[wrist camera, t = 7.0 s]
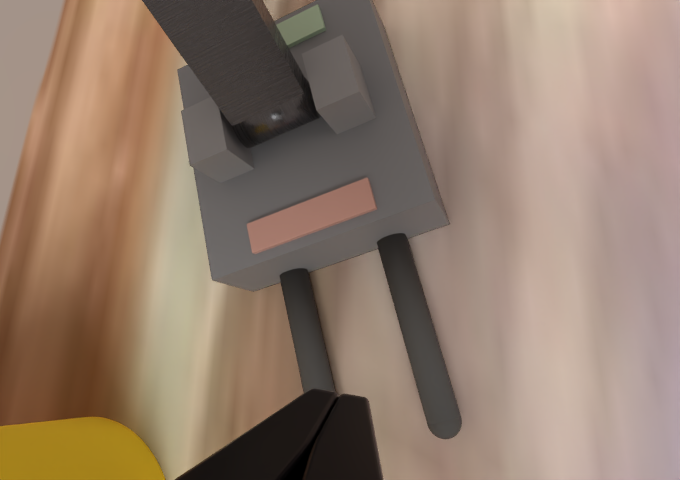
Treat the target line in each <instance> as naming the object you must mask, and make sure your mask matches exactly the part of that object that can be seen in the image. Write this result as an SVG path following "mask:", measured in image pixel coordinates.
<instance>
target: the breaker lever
mask: <svg viewBox="0 0 680 480" xmlns="http://www.w3.org/2000/svg"><path fill="white" fill-rule="evenodd" d="M142 1H143V2H144V4H145V5H146V6H147V8H148V9H149V11H150V12H151V13H152V15H153V16H154V18H155V19H156V20H157V22H158V23H159V25H160V26H161V27H162V29H163V30H164V32H165V33H166V34H167V36H168V37H169V39H170V40H171V41H172V43H173V44H174V46H175V47H176V49H177V50H178V51H179V53H180V54H181V56H182V57H183V58H184V60H185V61H186V63H187V64H188V65H189V67H190V68H191V70H192V71H193V72H194V74H195V75H196V77H197V78H198V79H199V81H200V82H201V84H202V85H203V86H204V88H205V89H206V91H207V92H208V93H209V95H210V96H211V98H212V99H213V100H214V102H215V103H216V105H217V106H218V107H219V109H220V110H221V112H222V113H223V114H224V116H225V117H226V119H227V120H228V121H229V123H230V124H231V126H232V128H233V130H234V132H235V134H236V136H237V138H238V139H239V141H240V142H241V143H242V144H243V145H244V146H245V147H246V148H252V147H254V146H256V145H258V144H261V143H263V142H265V141H268V140H270V139H272V138H275V137H277V136H279V135H282V134H284V133H286V132H289V131H291V130H293V129H296V128H298V127H300V126H302V125H305V124H307V123H309V122H312V121H314V120H316V119H319V118H320V117H321V115H320V114H319V113H318V112H317V110H316V107H315V103H314V99H313V96H312V92H311V88H310V84H309V82H308V80H307V79H306V78H305V77H304V75H303V73H302V71H301V69H300V68H299V66H298V64H297V62H296V60H295V59H294V57H293V55H292V53H291V51H290V49H289V48H288V46H287V44H286V42H285V40H284V39H283V37H282V35H281V33H280V31H279V29H278V28H277V26H276V24H275V22H274V20H273V19H272V17H271V15H270V13H269V11H268V9H267V8H266V6H265V4H264V2H263V0H142Z"/></svg>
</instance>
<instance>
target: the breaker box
mask: <svg viewBox="0 0 680 480" xmlns="http://www.w3.org/2000/svg"><path fill="white" fill-rule="evenodd" d="M274 22H275V24H276V26H277V28H278V29H279V31H280V33H281V35H282V37H283V39H284V40H285V42H286V44H287V46H288V48H289V49H290V51H291V53H292V55H293V57H294V59H295V60H296V62H297V64H298V66H299V68H300V69H301V71H302V73H303V75H304V77H305V78H306V79H307V80H308V82H309V84H310V88H311V92H312V96H313V99H314V103H315V107H316V110H317V112H318V113H319V114H320V115H321V117H320V118H319V119H316V120H314V121H312V122H309V123H307V124H305V125H302V126H300V127H298V128H296V129H293V130H291V131H289V132H286V133H284V134H282V135H279V136H277V137H275V138H272V139H270V140H268V141H265V142H263V143H261V144H258V145H256V146H254V147H252V148H246V147H245V146H244V145H243V144H242V143H241V142H240V141H239V139H238V138H237V136H236V134H235V132H234V130H233V128H232V126H231V124H230V123H229V121H228V120H227V119H226V117H225V116H224V114H223V113H222V112H221V110H220V109H219V107H218V106H217V105H216V103H215V102H214V100H213V99H212V98H211V96H210V95H209V93H208V92H207V91H206V89H205V88H204V86H203V85H202V84H201V82H200V81H199V79H198V78H197V77H196V75H195V74H194V72H193V71H192V70H191V68H190V67H189V65H186V66H184V67H182V68H180V69H178V76H179V82H180V88H181V95H182V101H183V107H184V110H182V111H181V113H182V119H183V125H184V132H185V138H186V144H187V150H188V156H189V162H190V166H192V167H193V168H194V174H195V180H196V186H197V192H198V198H199V204H200V210H201V216H202V222H203V228H204V235H205V241H206V247H207V253H208V259H209V265H210V271H211V277H212V280H213V281H217V282H220V283H224V284H227V285H231V286H235V287H238V288H242V289H246V290H249V291H253V292H254V291H257V290H260V289H263V288H265V287H268V286H271V285H274V284H277V283H280V282H281V281H280V274H282V273H283V272H286V271H288V270H292V269H298V268H305V269H307V270H308V273H309V272H312V271H315V270H318V269H320V268H323V267H326V266H329V265H332V264H335V263H338V262H341V261H344V260H347V259H349V258H352V257H355V256H358V255H361V254H364V253H367V252H370V251H373V250H376V249H378V245H377V242H378V240H380V239H381V238H383V237H386V236H388V235H392V234H397V233H404V234H406V236H407V238H410V237H413V236H416V235H419V234H422V233H425V232H428V231H431V230H434V229H436V228H439V227H442V226H445V225H448V224H450V223H449V220H448V217H447V214H446V211H445V208H444V205H443V202H442V199H441V196H440V193H439V190H438V187H437V184H436V181H435V178H434V175H433V172H432V169H431V166H430V163H429V160H428V157H427V154H426V151H425V148H424V145H423V142H422V139H421V136H420V133H419V130H418V127H417V124H416V121H415V118H414V115H413V112H412V109H411V106H410V103H409V100H408V97H407V94H406V91H405V88H404V85H403V82H402V79H401V76H400V73H399V70H398V67H397V64H396V61H395V58H394V55H393V52H392V49H391V46H390V43H389V40H388V37H387V34H386V31H385V28H384V25H383V23H382V21H381V19H380V17H379V14H378V12H377V10H376V8H375V5H374V3H373V1H372V0H316V1H314V2H312V3H310V4H308V5H306V6H304V7H302V8H300V9H298V10H296V11H294V12H292V13H290V14H288V15H286V16H284V17H282V18H280V19H278V20H276V21H274Z"/></svg>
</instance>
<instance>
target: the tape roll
mask: <svg viewBox="0 0 680 480" xmlns="http://www.w3.org/2000/svg"><path fill="white" fill-rule="evenodd" d="M0 480H165V477H164V475H163V472H162V470H161V468H160V466H159V464H158V462H157V460H156V458H155V457H154V455H153V453H152V452H151V450H150V449H149V448H148V446H147V445H146V444H145V443H144V442H143V441H142V439H141V438H140V437H139V436H137V435H136V434H135V433H134V432H133V431H132V430H130V429H129V428H127V427H126V426H124V425H122V424H120V423H118V422H116V421H113V420H110V419H107V418H102V417H81V418H72V419H63V420H53V421H44V422H35V423H25V424H16V425H6V426H0Z"/></svg>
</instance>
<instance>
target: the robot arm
mask: <svg viewBox="0 0 680 480" xmlns="http://www.w3.org/2000/svg"><path fill="white" fill-rule="evenodd" d="M175 480H383V475H382V469H381V464H380V459H379V453H378V448H377V443H376V437H375V432H374V426H373V421H372V416H371V410H370V405H369V401H368V399H367V398H365V397H360V396H355V395H349V394H342V395H340V396H339V395H338V393H337V392H333V391H327V390H322V389H315V388H313V389H310V390H309V391H307V392H306V393H304V394H303V395H301V396H300V397H298V398H297V399H295V400H294V401H292V402H291V403H289V404H288V405H286V406H285V407H283V408H282V409H280V410H279V411H277V412H276V413H274V414H273V415H271V416H270V417H268V418H267V419H265V420H264V421H262V422H261V423H259V424H258V425H256V426H255V427H253V428H252V429H250V430H249V431H247V432H246V433H244V434H243V435H241V436H240V437H238V438H236V439H235V440H233V441H232V442H230V443H229V444H227V445H226V446H224V447H223V448H221V449H220V450H218V451H217V452H215V453H214V454H212V455H211V456H209V457H208V458H206V459H205V460H203V461H202V462H200V463H199V464H197V465H196V466H194V467H193V468H191V469H190V470H188V471H187V472H185V473H184V474H182V475H181V476H179V477H178V478H176V479H175Z"/></svg>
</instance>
